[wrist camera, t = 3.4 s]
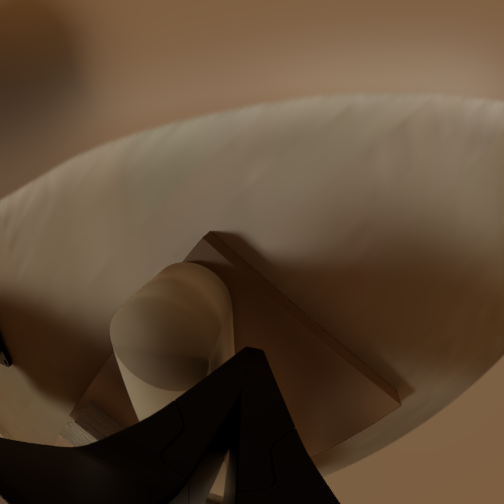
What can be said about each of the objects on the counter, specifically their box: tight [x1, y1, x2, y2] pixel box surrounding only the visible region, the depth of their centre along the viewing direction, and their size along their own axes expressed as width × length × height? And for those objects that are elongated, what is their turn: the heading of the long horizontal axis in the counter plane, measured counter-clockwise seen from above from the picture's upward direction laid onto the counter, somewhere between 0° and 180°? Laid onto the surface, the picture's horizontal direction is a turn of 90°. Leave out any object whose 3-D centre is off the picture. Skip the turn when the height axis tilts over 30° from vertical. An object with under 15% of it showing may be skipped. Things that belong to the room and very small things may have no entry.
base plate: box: [70, 231, 401, 458], centre depth 13 cm, size 18×12×1 cm, turn 139°
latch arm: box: [110, 262, 235, 504], centre depth 10 cm, size 15×4×3 cm, turn 1°
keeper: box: [54, 401, 215, 504], centre depth 12 cm, size 9×8×6 cm
